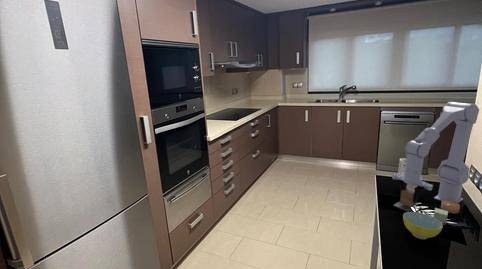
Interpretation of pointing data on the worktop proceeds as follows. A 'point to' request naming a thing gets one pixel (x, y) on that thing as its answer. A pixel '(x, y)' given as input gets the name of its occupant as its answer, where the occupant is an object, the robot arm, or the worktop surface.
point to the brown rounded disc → (450, 206)
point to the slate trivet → (402, 206)
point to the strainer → (401, 169)
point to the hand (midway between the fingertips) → (408, 199)
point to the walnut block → (407, 197)
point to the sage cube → (440, 215)
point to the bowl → (422, 225)
